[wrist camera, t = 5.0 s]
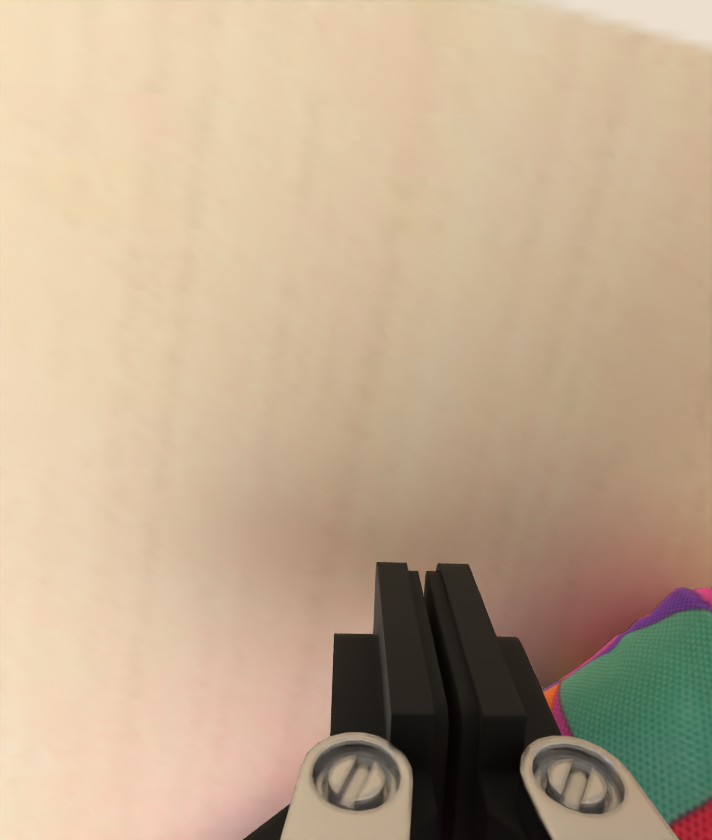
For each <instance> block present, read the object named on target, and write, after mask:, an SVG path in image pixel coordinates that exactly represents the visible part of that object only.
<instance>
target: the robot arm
mask: <svg viewBox="0 0 712 840" xmlns="http://www.w3.org/2000/svg"><path fill="white" fill-rule="evenodd" d="M243 840H682V839H680V838H679V837H677V836H676V835H675V833H674V832H673V831H672V829H671V828H670V826H669V825H668V824H667V822H666V821H665V820H664V818H663V817H662V815H661V814H660V813H659V811H658V810H657V809H656V807H655V806H654V805H653V803H652V802H651V800H650V799H649V798H648V796H647V795H646V794H645V792H644V791H643V789H642V788H641V787H640V785H639V784H638V783H637V781H636V780H635V778H634V777H633V776H632V774H631V773H630V772H629V770H628V769H627V768H626V767H625V766H624V765H623V764H622V763H621V762H620V761H619V760H618V759H617V758H616V757H615V756H613V755H612V754H611V753H609V752H608V751H606V750H605V749H603V748H602V747H600V746H597V745H595V744H593V743H591V742H589V741H586V740H583V739H579V738H575V737H570V736H562V734H561V732H560V730H559V727H558V725H557V723H556V721H555V718H554V716H553V714H552V712H551V709H550V707H549V705H548V703H547V700H546V698H545V696H544V694H543V691H542V689H541V687H540V685H539V682H538V680H537V678H536V676H535V673H534V671H533V669H532V666H531V664H530V662H529V660H528V657H527V655H526V653H525V651H524V648H523V646H522V644H521V642H520V641H519V639H518V638H516V637H496V634H495V632H494V629H493V626H492V624H491V621H490V619H489V616H488V613H487V611H486V608H485V606H484V603H483V600H482V598H481V595H480V593H479V590H478V587H477V585H476V582H475V580H474V577H473V575H472V572H471V569H470V567H469V565H468V564H440V563H438V564H437V568H436V571H426V575H425V588H424V596H423V591H422V586H421V582H420V577H419V573H418V571H408V568H407V563H394V562H377V564H376V579H375V604H374V628H373V634H334V653H333V680H332V706H331V733H330V737H329V738H327V739H325V740H323V741H321V742H319V743H318V744H317V745H316V746H314V747H313V748H312V749H311V750H310V751H309V752H308V753H307V755H306V757H305V759H304V761H303V763H302V765H301V769H300V772H299V776H298V779H297V783H296V786H295V790H294V793H293V797H292V800H291V804H289V805H288V806H287V807H285V808H284V809H283V810H281V811H280V812H279V813H277V814H276V815H275V816H273V817H272V818H271V819H269V820H268V821H267V822H265V823H264V824H263V825H261V826H260V827H259V828H258V829H256V830H255V831H254V832H252V833H251V834H250V835H248V836H247V837H246V838H244V839H243Z"/></svg>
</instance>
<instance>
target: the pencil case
mask: <svg viewBox="0 0 712 840" xmlns="http://www.w3.org/2000/svg"><path fill="white" fill-rule="evenodd" d="M542 691H543V694H544V696H545V698H546V700H547V703H548V705H549V707H550V709H551V712H552V714H553V716H554V718H555V721H556V723H557V725H558V727H559V730H560V732H561V734H562V736H570V737H575V738H579V739H583V740H586V741H589V742H591V743H593V744H595V745H597V746H600V747H602V748H603V749H605V750H606V751H608V752H609V753H611V754H612V755H613V756H615V757H616V758H617V759H618V760H619V761H620V762H621V763H622V764H623V765H624V766H625V767H626V768H627V769H628V770H629V772H630V773H631V774H632V776H633V777H634V778H635V780H636V781H637V783H638V784H639V785H640V787H641V788H642V789H643V791H644V792H645V794H646V795H647V796H648V798H649V799H650V800H651V802H652V803H653V805H654V806H655V807H656V809H657V810H658V811H659V813H660V814H661V815H662V817H663V818H664V820H665V821H666V822H667V824H668V825H669V826H670V828H671V829H672V831H673V832H674V833H675V835H676V836H677V837H679V838H680V839H682V840H712V589H710V588H706V587H705V588H699V589H696V590H690V589H687V588H684V587H680V588H676V589H674V590H673V591H672V592H671V593H670V594H669V595H668V596H667V597H666V598H665V599H664V600H663V601H662V602H661V603H660V604H659V605H658V606H657V607H656V608H655V610H654V611H652V612H651V613H649V614H647V615H645V616H644V617H642V618H640V619H638V620H636V621H635V622H634V624H633V625H632V626H631V627H630V628H629V629H628V630H627V631H625V632H623V633H621V634H619V635H616V636H615V637H614V638H613V639H612V640H610V641H609V642H608V643H607V644H606V645H605V646H604V647H602V648H601V649H600V650H599V651H598V652H597V653H596V654H595V655H593V656H592V657H591V658H590V659H588V660H587V661H586V662H584V663H583V664H581V665H580V666H579V667H577V668H576V669H574V670H573V671H571V672H570V673H569V674H567V675H566V676H564V677H563V678H561V679H560V680H558V681H556V682H555V683H553V684H551V685H550V686H548V687H546V688H545V689H543V690H542Z"/></svg>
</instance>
